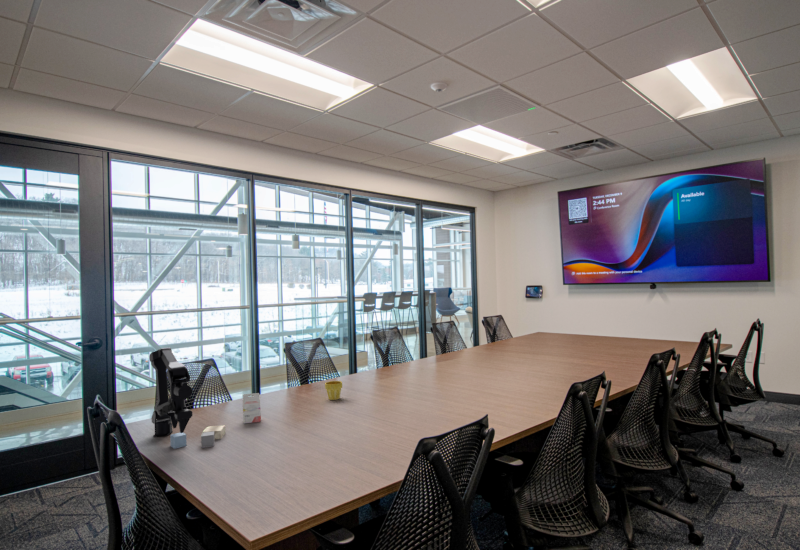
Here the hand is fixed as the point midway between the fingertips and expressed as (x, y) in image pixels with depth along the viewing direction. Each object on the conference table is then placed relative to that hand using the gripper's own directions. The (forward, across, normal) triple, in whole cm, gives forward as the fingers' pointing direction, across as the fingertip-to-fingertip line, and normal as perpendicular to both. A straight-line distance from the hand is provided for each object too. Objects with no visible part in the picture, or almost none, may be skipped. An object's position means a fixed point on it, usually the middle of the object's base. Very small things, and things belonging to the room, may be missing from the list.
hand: (178, 430), depth 197 cm
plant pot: (+7, -12, +93) cm, 94 cm away
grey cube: (+7, +9, +9) cm, 15 cm away
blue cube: (+7, 0, 0) cm, 7 cm away
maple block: (+7, 0, +16) cm, 17 cm away
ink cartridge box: (+7, -8, +38) cm, 40 cm away
